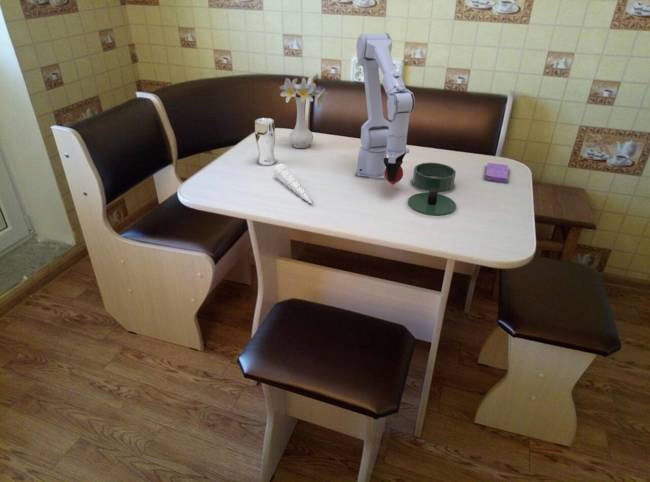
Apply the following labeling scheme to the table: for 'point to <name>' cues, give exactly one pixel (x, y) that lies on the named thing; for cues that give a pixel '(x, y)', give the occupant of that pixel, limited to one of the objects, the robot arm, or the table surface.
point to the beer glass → (265, 140)
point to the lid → (432, 203)
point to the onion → (398, 178)
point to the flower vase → (301, 108)
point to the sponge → (497, 172)
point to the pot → (436, 170)
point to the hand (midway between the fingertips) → (393, 176)
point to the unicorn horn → (289, 180)
